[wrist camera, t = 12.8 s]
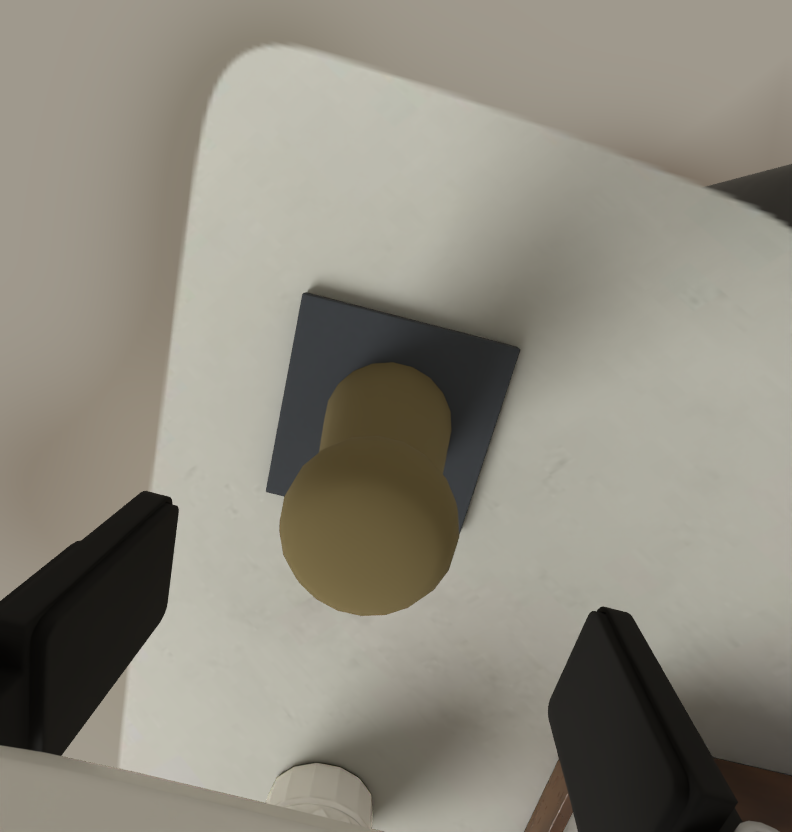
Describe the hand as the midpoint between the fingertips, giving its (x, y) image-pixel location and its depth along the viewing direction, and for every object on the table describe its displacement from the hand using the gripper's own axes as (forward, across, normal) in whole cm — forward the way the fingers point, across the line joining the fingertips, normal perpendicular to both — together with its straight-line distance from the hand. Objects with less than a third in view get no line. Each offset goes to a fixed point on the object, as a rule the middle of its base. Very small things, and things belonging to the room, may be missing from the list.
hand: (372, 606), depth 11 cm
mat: (+14, +1, 0) cm, 14 cm away
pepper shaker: (+13, +1, 0) cm, 13 cm away
